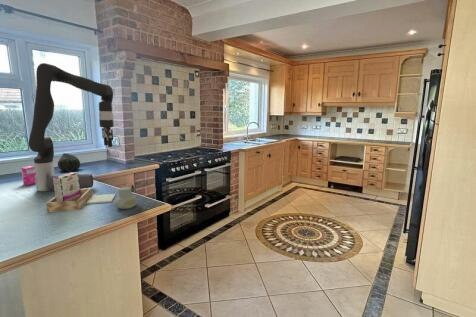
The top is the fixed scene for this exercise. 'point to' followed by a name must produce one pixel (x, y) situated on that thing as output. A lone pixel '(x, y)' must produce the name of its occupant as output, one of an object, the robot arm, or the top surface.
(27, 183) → the supplement box
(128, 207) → the air freshener
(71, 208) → the oak bin
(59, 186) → the candy bar box
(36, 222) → the top surface
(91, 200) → the plate
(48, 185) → the bluetooth speaker
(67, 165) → the squash
